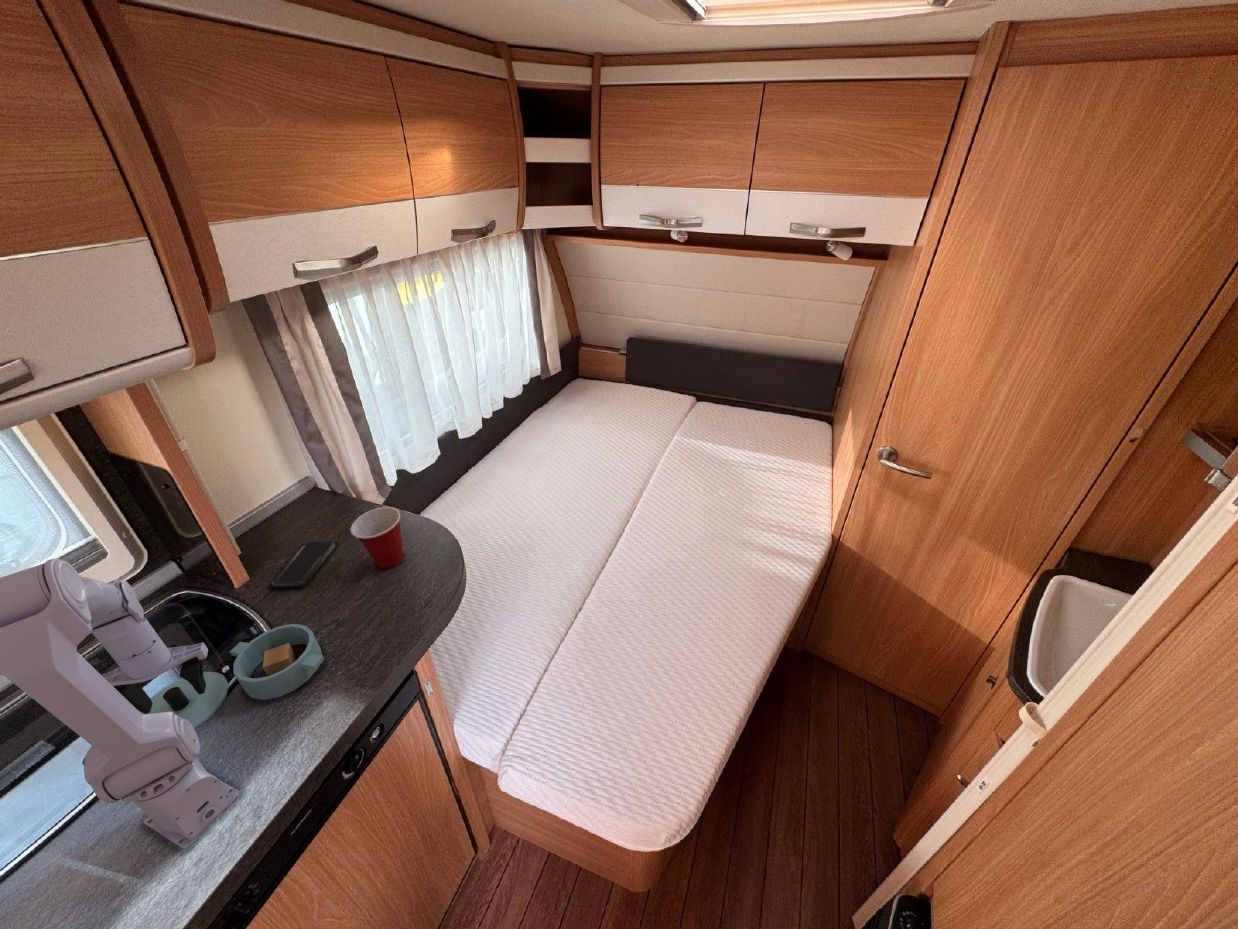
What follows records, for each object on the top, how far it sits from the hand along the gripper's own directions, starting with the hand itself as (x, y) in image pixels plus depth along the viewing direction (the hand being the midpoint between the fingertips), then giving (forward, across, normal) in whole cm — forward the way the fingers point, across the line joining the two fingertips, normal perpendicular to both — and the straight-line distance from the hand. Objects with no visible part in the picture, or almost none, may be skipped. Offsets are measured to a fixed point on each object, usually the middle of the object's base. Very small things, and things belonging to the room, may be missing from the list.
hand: (176, 699), depth 88 cm
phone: (+3, -19, -32) cm, 37 cm away
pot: (+3, -16, 0) cm, 16 cm away
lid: (+2, 0, 0) cm, 2 cm away
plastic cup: (+3, -36, -24) cm, 43 cm away
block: (+2, -16, 0) cm, 16 cm away
